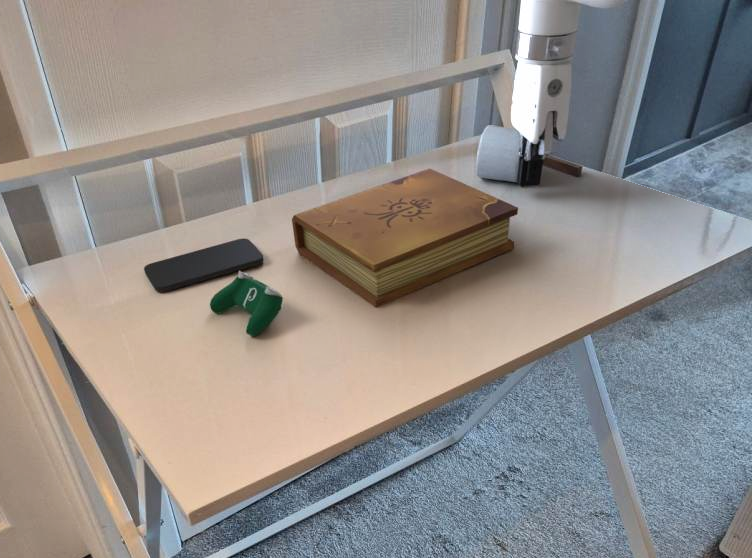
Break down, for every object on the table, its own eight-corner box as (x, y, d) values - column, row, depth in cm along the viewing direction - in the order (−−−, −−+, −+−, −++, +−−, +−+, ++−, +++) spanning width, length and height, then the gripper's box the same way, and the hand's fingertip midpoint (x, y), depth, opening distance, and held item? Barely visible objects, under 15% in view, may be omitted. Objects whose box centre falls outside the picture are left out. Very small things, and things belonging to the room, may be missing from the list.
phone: (141, 265, 91) (246, 236, 95) (143, 271, 91) (247, 242, 96) (156, 289, 86) (265, 257, 91) (157, 295, 87) (266, 263, 91)
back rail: (581, 175, 108) (582, 166, 107) (576, 177, 108) (578, 167, 107) (516, 152, 117) (517, 143, 116) (512, 154, 116) (513, 145, 115)
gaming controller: (270, 346, 80) (294, 300, 79) (248, 335, 77) (273, 288, 76) (226, 317, 85) (248, 274, 84) (204, 306, 82) (226, 262, 81)
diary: (426, 205, 103) (426, 166, 99) (513, 249, 91) (518, 207, 87) (295, 252, 93) (290, 211, 90) (375, 307, 82) (373, 263, 78)
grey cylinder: (524, 190, 105) (531, 138, 100) (473, 184, 107) (477, 133, 102) (540, 167, 112) (547, 117, 107) (492, 161, 114) (496, 112, 109)
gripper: (596, 57, 85) (571, 201, 98) (550, 30, 96) (533, 163, 108) (540, 62, 84) (522, 207, 97) (499, 35, 95) (488, 169, 107)
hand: (528, 184), depth 102 cm, fingers closed
